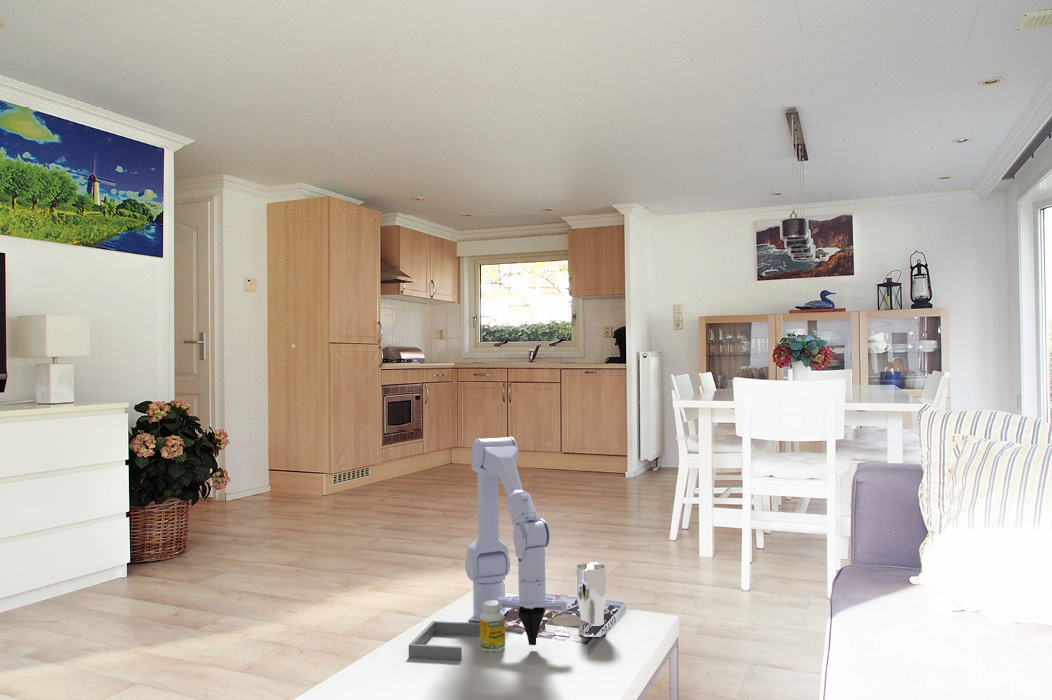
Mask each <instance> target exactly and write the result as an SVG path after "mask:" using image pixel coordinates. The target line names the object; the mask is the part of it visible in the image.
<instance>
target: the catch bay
mask: <svg viewBox="0 0 1052 700" xmlns="http://www.w3.org/2000/svg"><path fill="white" fill-rule="evenodd" d="M436 633H438V634H439V635H441V634H442V635H455V634H461V635H460V636H474V635H480V622H460V621H439V620H432V621H431V622H430V623H429V624H428V625H427V626H426V627H425V628H424V629H423V630H422V631H421V632H420V633H419V634H418V635H417V636H416V637H415V638H414V639H413V640H412V641H411V642H410V643H409V644H408V658H411V659H413V658H414V659H429V660H447V661H462V659H463V657H462V656H463V652H462V649H463V648H462V646H455V645H437V644H436V645H435V644H427V643H428V641H430V640H431V639H432V637H433V636H434V635H435V634H436ZM438 634H437V635H438Z"/></svg>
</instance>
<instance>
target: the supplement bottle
mask: <svg viewBox="0 0 1052 700" xmlns="http://www.w3.org/2000/svg"><path fill="white" fill-rule="evenodd" d="M482 609H483V612H482V613H481V614H480V621H479V623H480V636H479V639H480V640H479V646H480V649H481V651H483V650H484V652H486V651H489V652H488V653H494V652H493V651H498V652H500V651H499V650H501V651H503V650H504V649H505V648H504V647H506V625H505V624H506V623H505V621H506V620H505V618H506V616H504V613H503V612H502V611H500V610H501V609H499V605H498V601H496V600H489V601H485V602H483V604H482ZM503 648H504V649H503ZM502 649H503V650H502Z"/></svg>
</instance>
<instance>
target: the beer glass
mask: <svg viewBox="0 0 1052 700" xmlns="http://www.w3.org/2000/svg"><path fill="white" fill-rule="evenodd" d="M575 566H576V569H575V593H576V599H577V605H578V610H579V611H578V612H579V620H580V619H581V620H583V621H586V622H589V623H590V624H591V625H592V626H601V625H603V624H604V625H605V619H604V615H605V610H606V609H605V607H606V601H607V593H608V592H607V591H608V590H607V589H608V586H607V585H608V582H607V571H606V565H605V564H604V563H599V562H584V563H583V562H582V563H578V564H577V565H575Z"/></svg>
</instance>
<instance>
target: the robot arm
mask: <svg viewBox="0 0 1052 700" xmlns="http://www.w3.org/2000/svg"><path fill="white" fill-rule="evenodd" d="M470 448H471V450H470V451H471V452H470V453H471V454H470V455H471V457H470V458H471V461H470V462H471V471H472V472H473V471H474V472H476V473H477V539H476V540H475V541H473V542H472V543H471V544H470V545H469V546H468V547H467V548H466V549H467V550H466V557H465V563H464V566H465V573H466V575H467V578H468V579H469V580H470V581H472V589H473V590H472V593H473V594H472V601H473V603H472V604H473V605H472V606H473V607H472V608H473V613H472V614H471V615H470V617H468V621H469V622H480V614H481V613H482V612H483V609H482V604H483V602H485V601H489V600H496V601H498V605H499V609H501V610H500V611H502V612H503V613H505V612H506V611H508V610H509V611H510V609H518V618H519V619H520V621H521V623H522V625H523V628H524V631H525V633H526V637H527V641H528V642H527V643H528V645H529V646H536V645H537V643H536V638H537V639H538V637H537V635H539V631H540V627H541V624H542V621H543V619H544V615H545V613H546V611H549V610H550V611H560V612H566V611H567V609H568V600H567V599H562V598H555V597H548V596H546V595H547V594H546V590H547V589H546V550H545V549H546V548H547V547H548V546H549V543H550V536H551V535H550V529H549V525H548V523H547V521H546V520H544V519H543V517H542V516H541V515H539V514H538V512H537V509H536V507H535V505H534V502H533V500H532V499H533V498H532V497H531V494H530V493H529V492H528V491H525V490H524V489H523V485H522V481H521V478H520V474H519V471H518V467H517V462H518V457H519V446H518V442H517V441H516V440H515V438H514V437H513V436H508V437H493V438H492V437H491V438H490V437H489V438H479V437H477V438H475V439H474V441H473V443H472V445H471V447H470ZM499 479H500V482H501V484H502V486H503V488H504V491H505V492H506V494H507V498H506V501H505V505H506V506H505V507H506V508H507V511H508V513H509V517H510V519H511V523H512V525H513V533H512V539H513V545H514V547H515V557H516V558H517V563H518V564H517V566H518V567H517V568H518V569H517V571H518V577H517V578H518V596H506V586H505V585H506V584H505V582H504V581H505V580H506V576H508V575H509V572H510V571H511V560H510V556H509V555H510V554H509V547H508V546H507V544H505V543H504V541H502V540H500V539H499ZM509 611H508V612H509Z"/></svg>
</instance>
